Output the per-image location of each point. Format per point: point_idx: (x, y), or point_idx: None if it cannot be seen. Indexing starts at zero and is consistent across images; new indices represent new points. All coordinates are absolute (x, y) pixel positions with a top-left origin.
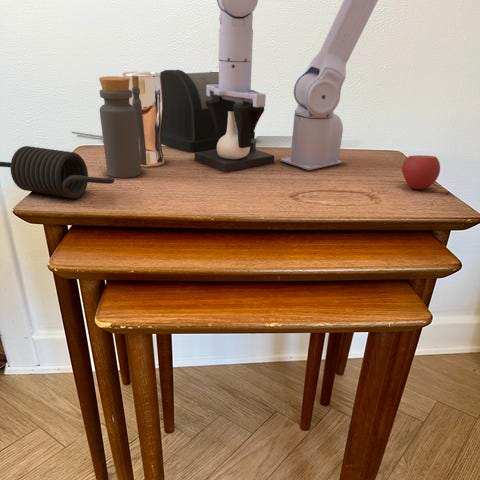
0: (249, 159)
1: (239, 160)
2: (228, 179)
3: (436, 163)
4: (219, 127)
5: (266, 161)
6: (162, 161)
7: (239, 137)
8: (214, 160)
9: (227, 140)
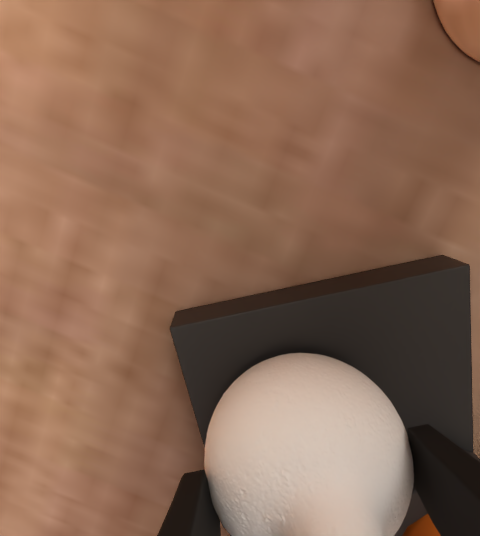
0: None
1: None
2: (54, 276)
3: None
4: (470, 508)
5: None
6: (457, 27)
7: (171, 528)
8: (270, 306)
9: (271, 450)
